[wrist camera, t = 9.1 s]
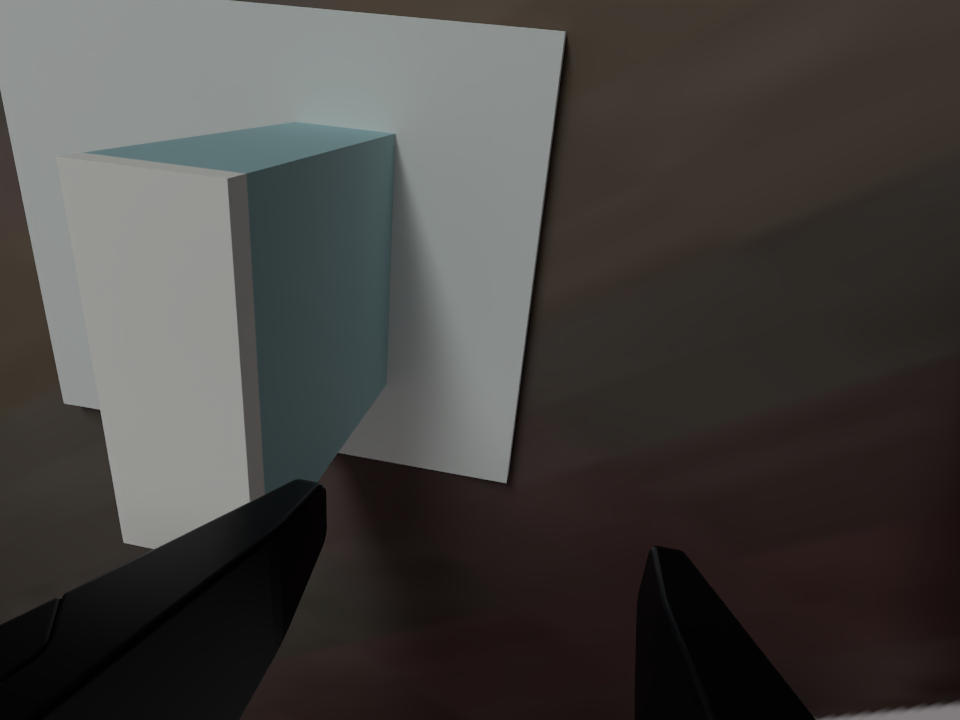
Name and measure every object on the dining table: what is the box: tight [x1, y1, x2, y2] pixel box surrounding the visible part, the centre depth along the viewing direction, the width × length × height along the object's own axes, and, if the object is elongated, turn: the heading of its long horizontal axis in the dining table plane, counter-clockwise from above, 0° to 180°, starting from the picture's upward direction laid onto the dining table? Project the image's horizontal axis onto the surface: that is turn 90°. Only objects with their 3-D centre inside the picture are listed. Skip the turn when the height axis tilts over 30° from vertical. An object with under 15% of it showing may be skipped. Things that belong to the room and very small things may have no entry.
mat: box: [0, 0, 567, 483], centre depth 21 cm, size 17×14×1 cm
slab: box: [56, 122, 395, 549], centre depth 16 cm, size 3×8×9 cm, turn 174°
